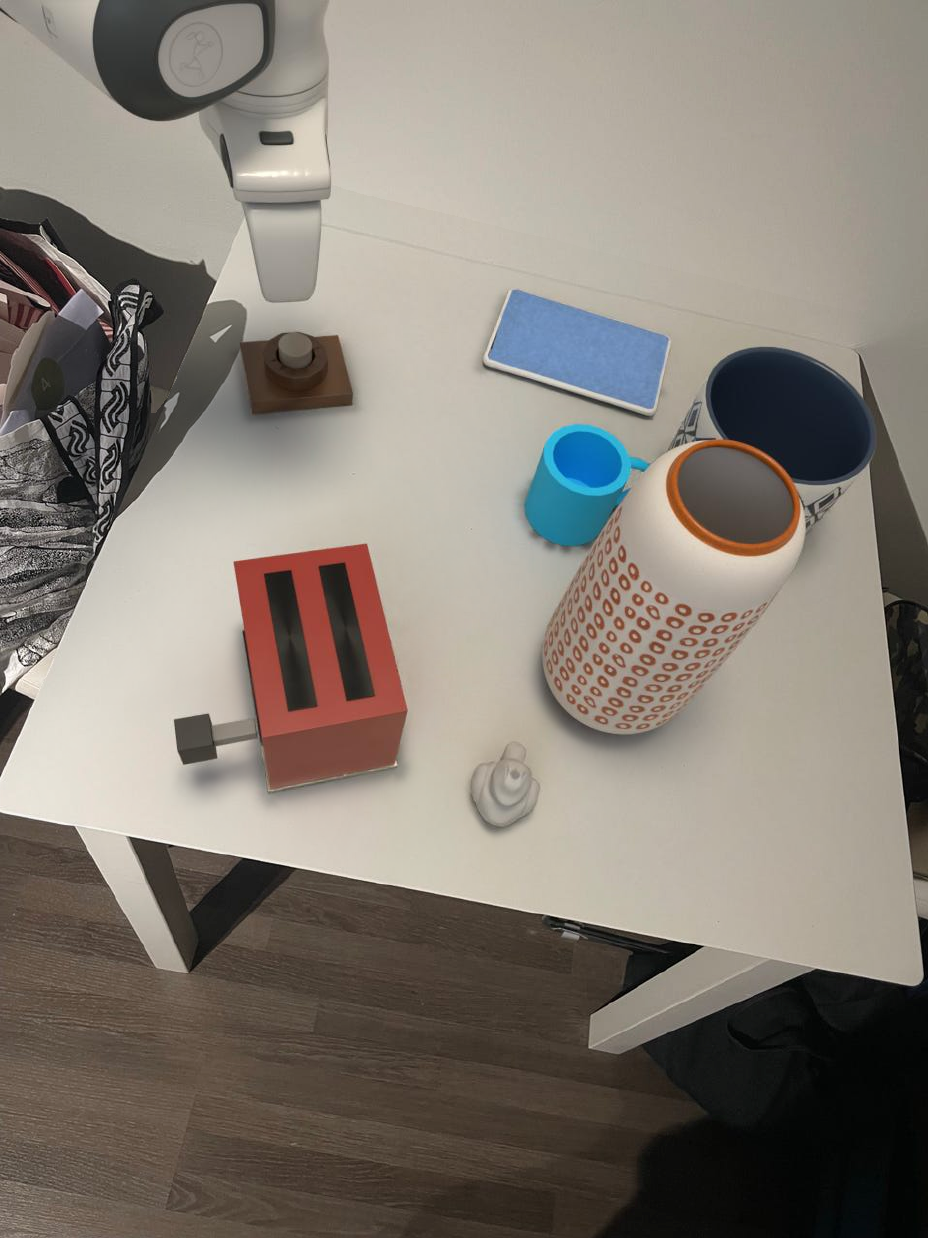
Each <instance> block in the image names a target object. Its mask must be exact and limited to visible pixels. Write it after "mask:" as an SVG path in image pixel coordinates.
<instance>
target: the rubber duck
mask: <svg viewBox="0 0 928 1238" xmlns="http://www.w3.org/2000/svg"><path fill="white" fill-rule="evenodd" d="M526 756H527V749H526V747H525V745H524V744H522V743H521V742H518V741H510V742H509V743H507V744H506V745H505V747H504V750H503V753H502V755H501V756H500V759H499V761H491V762H484V763H479V764H477V766H476V767H475V768H474V770H473V774H472V779H471V782H470V792H471V796H472V799H473V801H474V802H475V804H476V808H477V810H478V812H479V814H480V816H481V817H482V818H483V820H484V821H485V822H487V823H489V824H490V825H494V826H497V827H507V826H509V825H510V824H512V823H514V822H515V821H517V820H519V819H520V818H522V817H524V816H527V815H528V814H529V813H530V812H531V811H532V810H533V809H534V808H535V806H536V804H537V803H538V799H539V795H540V791H541V783H540V782H539V781H538V779H536V778H535V777H533V773H532V772H533V771H532V769H531V768H530V767H529V766H528V765H527V764H526V763H525V760H526Z"/></svg>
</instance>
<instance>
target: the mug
mask: <svg viewBox="0 0 928 1238" xmlns="http://www.w3.org/2000/svg"><path fill="white" fill-rule="evenodd" d="M650 465H651V464H650V463H649V462H647V461H645V460H644V459H642V458H637V457H634V456H630V453H629V452H628V451H627V449H626V448H625V445H624V444H623V442H621V441H620V440H619V439H618V438H617V437H616V436H615V435H614V434H612V433H610V432H609V431H607V430H605V429H603V428H601V427H597V426H594V425H591V424H583V423H573V424H569V425H565V426H562V427H560V428H558V429H557V430H555V431H553V432H552V433H551V435H550V436H549V437H548V438H547V439H546V441H545V444H544V447H543V449H542V452H541V455H540V457H539V460H538V463H537V466H536V469H535V472H534V475H533V477H532V481H531V484H530V486H529V489H528V491H527V495H526V498H525V501H524V511H525V516H526V518H527V520H528V523H529V525H530V527H532V529H533V530H534V531H535V532H536V533H537V534H538V535H539V536H540V537H542V538H544V539H545V540H547V541H549V542H551V543H554V544H558V545H560V546H566V547H578V546H582V545H585V544H588V543H590V542H592V541H593V540H595V539H597V538H598V536H599V534H600V533H601V531H602V530H603V528H604V526H605V525H606V523H607V522H608V520H609V519H610V517H611V515H612V513H613V510H614V508H615V507H618V506H619V504H620V503H621V502H622V500H623V499H624V497H625V496H626V495H627V493H628V492H629V491H630V489H631V488H632V486H631V487H629V488H627V489H625V486H626V485H627V482H629V481H628V480H629V478H630V476H631V470H637V471H640V472H642V473H643V472H644V471H645V470H646V469H647V468H648V467H649V466H650ZM624 489H625V490H624Z"/></svg>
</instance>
